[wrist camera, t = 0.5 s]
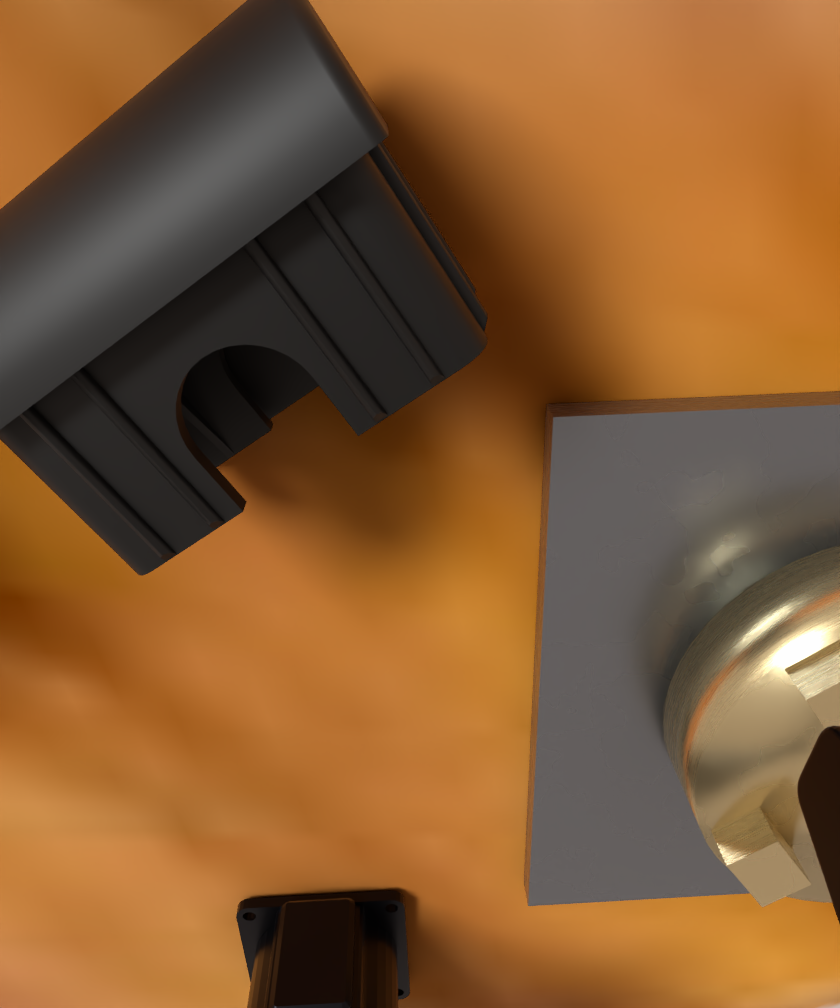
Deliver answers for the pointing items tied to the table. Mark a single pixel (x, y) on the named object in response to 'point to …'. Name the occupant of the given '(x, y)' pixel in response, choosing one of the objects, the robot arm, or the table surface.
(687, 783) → the gold disc with bar
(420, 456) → the table surface
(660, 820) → the flange plate
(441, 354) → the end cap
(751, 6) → the table surface
